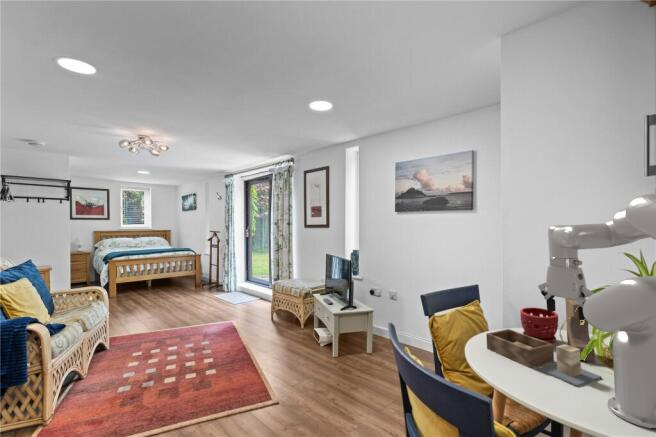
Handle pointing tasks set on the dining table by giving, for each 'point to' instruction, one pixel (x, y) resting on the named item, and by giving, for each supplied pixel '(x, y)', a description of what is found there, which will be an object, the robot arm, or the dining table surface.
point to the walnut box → (520, 347)
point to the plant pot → (539, 324)
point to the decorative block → (577, 329)
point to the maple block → (568, 360)
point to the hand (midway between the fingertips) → (566, 315)
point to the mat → (575, 380)
